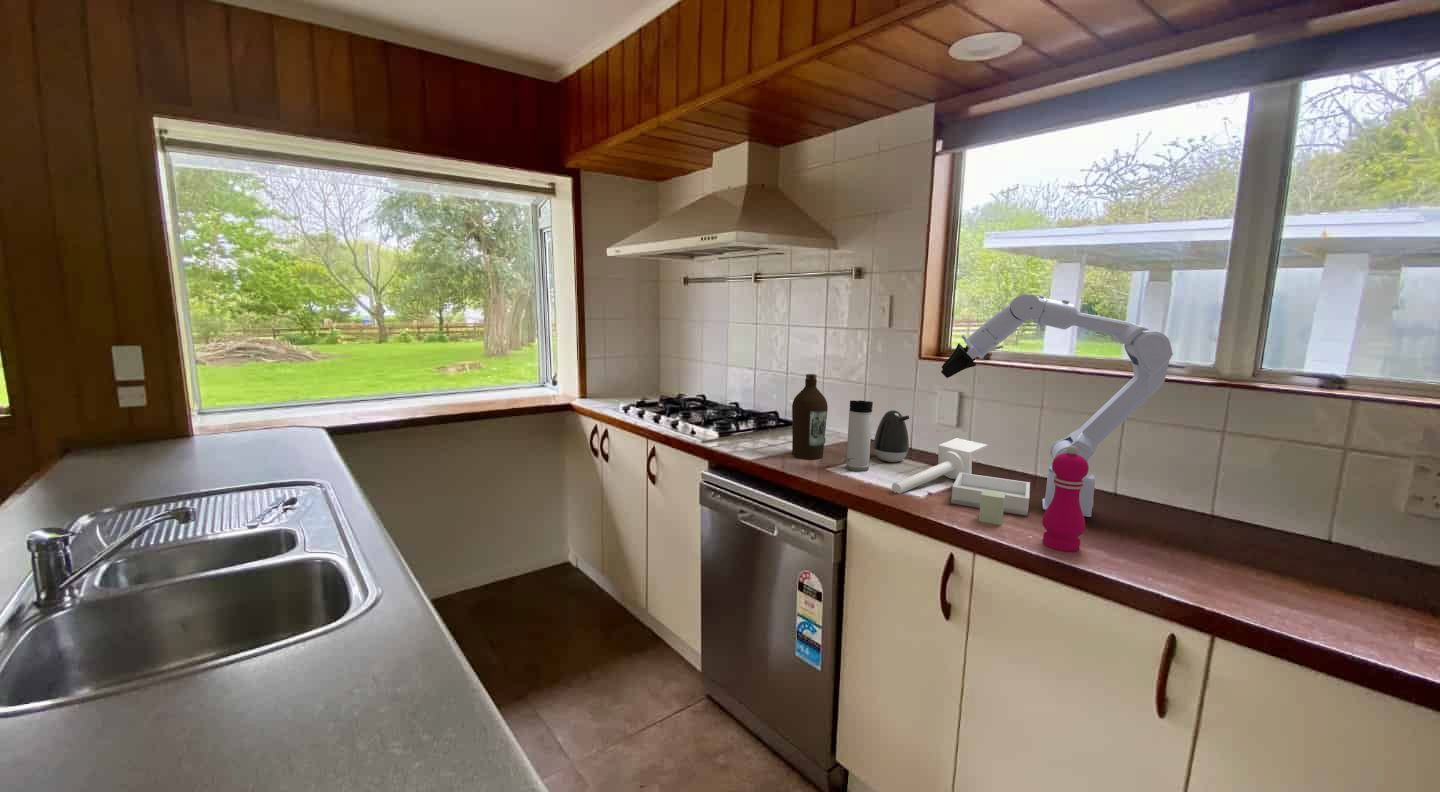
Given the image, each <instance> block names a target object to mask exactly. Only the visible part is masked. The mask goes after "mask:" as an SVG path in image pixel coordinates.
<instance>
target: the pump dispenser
mask: <svg viewBox="0 0 1440 792" xmlns="http://www.w3.org/2000/svg"><path fill="white" fill-rule="evenodd" d="M909 419H910V415H902V414H901V413H900V412H899V411H898V410H894V409H891V410H888V411H887V412H885V413H884V415H883V416H882V418H881V419H880V421H879V424H878V425H877V428H876V432H875V434H874V435H875V436H874V440H873V449H874V453H875V455H876V457H877V458H879V460H882V461H883V462H886V461H887V462H888V463H898V461H899V462H900V461H902V460H904V459H905V458H906V457H907V454H908V451H909V450H910V442H909V441H910V440H909V433H908V428H907V424H906V422H905V421H907V420H909Z"/></svg>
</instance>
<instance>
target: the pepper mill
mask: <svg viewBox="0 0 1440 792" xmlns="http://www.w3.org/2000/svg"><path fill="white" fill-rule="evenodd" d="M1077 451H1078V450H1077V448H1076V447H1075V446H1069V447H1068V448H1067V452H1068V453H1063V454H1060V455H1058V456H1056V457H1055V459H1054V460H1053V459H1052V460H1053V461H1052V469H1053V471H1054V473H1055V474H1056V476H1054V481H1053V483H1054V484H1055V493H1054V497H1053V500H1052V502H1051V503H1050V505H1049V506H1048V508H1047V509H1046V510H1044V514H1043V515H1042V520H1041V524H1042V527H1044V529H1045V532H1044V533H1043V536H1042V543H1043V544H1044V545H1045V546H1047V547H1049V548H1051V549H1054V550H1057V551H1062V552H1072V553H1073V552H1077V551H1080V548H1081V539H1080V538H1079V537H1081V536H1082V535H1083V533H1085V531H1086V519H1085V516H1083V513H1082V510H1081V507H1080V502H1079V494H1080V489H1082V488H1083V483H1084V481H1083V480H1082V479H1083V478H1084V477H1085V476H1086V475H1087V474H1089V468H1090V467H1089V463H1088V462H1087V461H1086V460H1085V459H1084V458H1083V457H1082V456H1080V455H1077V454H1076V453H1077Z"/></svg>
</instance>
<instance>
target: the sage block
mask: <svg viewBox="0 0 1440 792" xmlns="http://www.w3.org/2000/svg"><path fill="white" fill-rule="evenodd" d="M1004 501H1005V492H999V491H992V490H985V489H983V490H982V494H981V502H980V508H979V517H978V522H981V521H982V523H986V522H987V524H992V523H993V525H998V524H999V525H998V526H1002V525H1003V519H1004V512H1003V511H1004Z"/></svg>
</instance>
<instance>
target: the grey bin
mask: <svg viewBox="0 0 1440 792" xmlns="http://www.w3.org/2000/svg"><path fill="white" fill-rule="evenodd" d="M983 489H985V490H992V491H999V492H1005V501H1004V511H1003V513H1009V514H1014V515H1020V516H1026V517H1027V516H1028V513H1029V506H1030V505H1029V504H1030V491H1031V481H1023V480H1015V479H1009V478H1001V477H994V476H988V475H979V474H973V473H972V474H967V473H960V472H959V474H958V476H957V479H955V481H954V483H953V484H952V487H951V500H950V503H951V504H955V505H961V506H967V507H973V508H979V509H980V502H981V494H982V490H983Z"/></svg>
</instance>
